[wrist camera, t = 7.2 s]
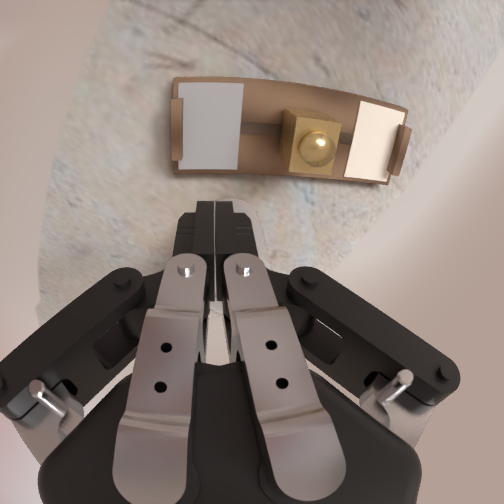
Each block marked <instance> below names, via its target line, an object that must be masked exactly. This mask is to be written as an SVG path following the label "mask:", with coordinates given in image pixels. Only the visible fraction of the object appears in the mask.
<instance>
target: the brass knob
mask: <svg viewBox="0 0 504 504" xmlns="http://www.w3.org/2000/svg"><path fill="white" fill-rule="evenodd" d="M341 124H342V123H340V122H339V121H337V120H335V119H334V118H332V117H330V116H329V115H327V114H325V113H323V112H317V111H310V110H302V109H294V108H285V109H284V117H283V124H282V132H281V139H280V147H279V154H278V155H279V156H280V158H281V160H282V161H283V163H284V165H285V166H286V168H287V170H288V172H299V173H312V174H324V175H331V172H332V168H333V163H334V158H335V154H336V149H337V144H338V139H339V135H340V130H341Z"/></svg>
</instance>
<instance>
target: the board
mask: <svg viewBox="0 0 504 504" xmlns="http://www.w3.org/2000/svg"><path fill="white" fill-rule="evenodd" d="M285 108H294V109H302V110H310V111H317V112H323V113H325V114H327V115H329V116H330V117H332V118H334V119H335V120H337V121H339V122H340V123H342V124H341V130H340V135H339V139H338V144H337V149H336V154H335V158H334V163H333V168H332V172H331V175H324V174H312V173H299V172H288V170H287V168H286V166H285V165H284V163H283V161H282V160H281V158H280V156H279V155H278V154H279V147H280V139H281V132H282V124H283V117H284V109H285ZM407 114H408V110H407V109H405V108H403V107H400V106H397V105H394V104H390V103H387V102H383V101H380V100H376V99H372V98H369V97H365V96H361V95H357V94H352V93H348V92H343V91H339V90H334V89H329V88H323V87H318V86H312V85H306V84H299V83H292V82H284V81H275V80H265V79H253V78H238V77H175V78H174V83H173V99H172V100H171V161H174V173H237V174H267V175H286V176H302V177H315V178H327V179H338V180H348V181H357V182H366V183H374V184H382V185H388V183H389V180H390V177H391V175H394V176H399V173H400V170H401V167H402V164H403V160H404V157H405V153H406V150H407V146H408V143H409V139H410V135H411V131H412V129H410V128H409V127H407V126H405V122H406V118H407Z"/></svg>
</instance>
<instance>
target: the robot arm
mask: <svg viewBox="0 0 504 504" xmlns="http://www.w3.org/2000/svg"><path fill="white" fill-rule="evenodd" d="M215 267H216V297H217V301H222V306H223V324H224V330H225V336H226V343H227V349H228V354H229V361H230V363H229V364H226V365H221V366H217V365H211V364H206V349H207V334H208V333H207V332H208V320H209V318H208V315H209V313H210V301H215ZM317 319H318V320H319V321H321V322H322V323H324V324H325V325H326V326H328V327H329V328H331V329H332V330H333V331H335V332H336V333H337V334H339V335H340V336H341V337H342V338H341V337H340V336H338V335H337V334H335V333H334V332H333V331H331V330H330V329H329V328H327V327H326V326H324V325H323V324H321V323H320V322H319V321H318V320H317ZM116 322H117V323H116ZM109 328H110V329H109ZM135 357H136V358H135ZM134 358H135V363H134V368H133V373H131V374H130V375H128V376H126V377H125V378H124V379H122V380H121V381H120V382H119V383H118V384H116V385H115V387H114V388H113V389H112V390H111V391H110V392H109V393H108V394H107V395H106V396H105V397H104V398H103V399H102V400H101V401H100V402H99V403H98V404H97V405H96V406H95V407H94V408H93V410H91V411H90V412H89V414H88V415H87V416H86V417H85V418H84V410H83V407H84V406H85V405H86V404H87V403H88V402H89V401H90V400H91V399H92V398H93V397H94V396H95V395H96V394H98V393H99V392H100V391H101V390H102V389H103V388H104V387H105V386H106V385H107V384H108V383H109V382H110V381H111V380H112V379H113V378H114V377H115V376H116V375H117V374H119V373H120V372H121V371H122V370H123V369H124V368H125V367H126V366H127V365H128V364H129V363H130V362H131V361H132V360H133V359H134ZM305 358H306V359H307V360H308V361H310V362H311V363H312V364H313V365H315V366H316V367H317V368H319V369H320V370H321V371H323V372H324V373H325V374H327V375H328V376H329V377H330V378H332V379H333V380H334V381H336V382H337V383H339V384H340V385H341V386H342V387H344V388H345V389H346V390H348V391H349V392H350V393H352V394H353V395H355V396H356V397H357V398H359V399H360V400H359V404H360V407H359V406H358V405H357V404H355V403H354V402H353V401H352V400H350V399H349V398H348V397H346V396H345V395H344V394H343V393H341V392H340V391H339V390H338V389H336V388H335V387H334V386H333V385H332V384H330V383H329V382H328V381H326V380H325V379H324V378H323V377H322V376H320V375H318V374H317V373H315V372H314V371H312V370H310V369H308V366H307V363H306V360H305ZM459 384H460V373H459V370H458V368H457V366H456V364H455V363H454V362H453V361H452V360H451V359H450V358H448V357H447V356H445V355H444V354H442V353H441V352H440V351H438V350H437V349H435V348H434V347H432V346H431V345H429V344H428V343H427V342H425V341H424V340H423V339H421V338H420V337H418V336H417V335H415V334H414V333H412V332H411V331H410V330H408V329H407V328H405V327H404V326H402V325H401V324H399V323H398V322H396V321H395V320H393V319H392V318H390V317H389V316H387V315H386V314H385V313H383V312H382V311H380V310H379V309H377V308H376V307H374V306H372V305H371V304H370V303H368V302H367V301H365V300H364V299H362V298H361V297H359V296H358V295H356V294H355V293H353V292H352V291H350V290H349V289H347V288H346V287H344V286H342V285H341V284H340V283H338V282H337V281H335V280H334V279H332V278H331V277H329V276H328V275H326V274H325V273H323V272H322V271H320V270H318V269H316V268H313V267H306V266H304V267H298V268H296V269H294V270H293V271H292V272H291V273H290V275H286V274H282V273H277V272H274V271H272V270H270V269H268V268H266V267H265V264H264V262H263V261H262V260H261V259H260V258H259V256H258V251H257V246H256V241H255V237H254V232H253V228H252V222H251V219H250V218H249V217H248V216H247V215H246V214H245V213H234V210H233V202H232V201H215V245H214V201H197V207H196V213H184V214H183V215H182V216H181V217H180V218H179V220H178V226H177V231H176V237H175V243H174V250H173V256H172V258H171V259H170V260H169V261H168V262H167V263H166V266H165V269H164V270H162V271H161V272H158V273H155V274H152V275H148V276H144V277H142V274H141V273H140V272H139V271H138V270H136V269H134V268H128V267H125V268H119V269H116V270H114V271H112V272H111V273H109V274H108V275H107V276H105V277H104V278H103V279H101V280H100V281H98V282H97V283H96V284H94V285H93V286H92V287H90V288H89V289H88V290H86V291H85V292H84V293H83V294H81V295H80V296H79V297H77V298H76V299H75V300H73V301H72V302H71V303H70V304H68V305H67V306H66V307H65V308H63V309H62V310H61V311H60V312H58V313H57V314H56V315H55V316H53V317H52V318H51V319H50V320H48V321H47V322H46V323H45V324H44V325H42V326H41V327H40V328H39V329H38V330H36V331H35V332H34V333H33V334H32V335H30V336H29V337H28V338H27V339H26V340H25V341H23V342H22V343H21V344H20V345H19V346H18V347H17V348H16V349H14V350H13V351H12V352H11V353H10V354H9V355H8V356H7V357H5V358H4V359H3V360H2V361H1V362H0V412H1V413H3V414H4V416H6V417H7V418H8V419H10V420H11V421H12V423H13V424H14V426H15V428H16V429H17V431H18V433H19V434H20V436H21V438H22V439H23V441H24V442H25V444H26V445H27V447H28V448H29V449H30V451H31V453H32V454H33V455H34V457H35V458H36V460H37V461H38V462H39V464H40V465H41V467H40V470H39V474H38V489H39V494H40V497H41V500H42V502H43V504H416V501H417V495H418V491H419V487H420V483H421V477H422V470H421V463H420V460H419V457H418V455H417V453H416V452H415V450H414V447H415V446H416V444H417V442H418V440H419V438H420V436H421V434H422V433H423V431H424V429H425V427H426V425H427V423H428V421H429V418H430V417H431V414H432V412H433V410H434V408H435V406H436V405H437V404H439V403H440V402H441V401H442V400H444V399H445V398H446V397H448V396H449V395H450V394H451V393H453V392H454V391H455V390H456V389H457V388H458V386H459ZM83 418H84V419H83Z"/></svg>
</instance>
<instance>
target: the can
mask: <svg viewBox="0 0 504 504" xmlns="http://www.w3.org/2000/svg"><path fill="white" fill-rule="evenodd" d="M217 201H232V202H233V210H234V213H245V214H246V215H247V216H248V217H249V218H250V219H251V222H252V228H253V232H254V237H255V241H256V246H257V251H258V256H259V258H260V259H261V260H262V261H263V262H264V264H265V267H266V268H268V269H270V270H272V266H271V262H270V258H269V254H268V250H267V246H266V242H265V238H264V234H263V230H262V226H261V222H260V219H259V216H258V213H257V211H256V210H255V209H254V208H253V207H252V206H251V205H250V204H248V203H247V202H245V201H243V200H239V199H235V198H225V199H220V200H217ZM214 245H215V201H214ZM272 271H273V270H272ZM210 310H211V311H213V312H216V313H218V314H221V315H223V306H222V301H217V297H216V267H215V301H210Z"/></svg>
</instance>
